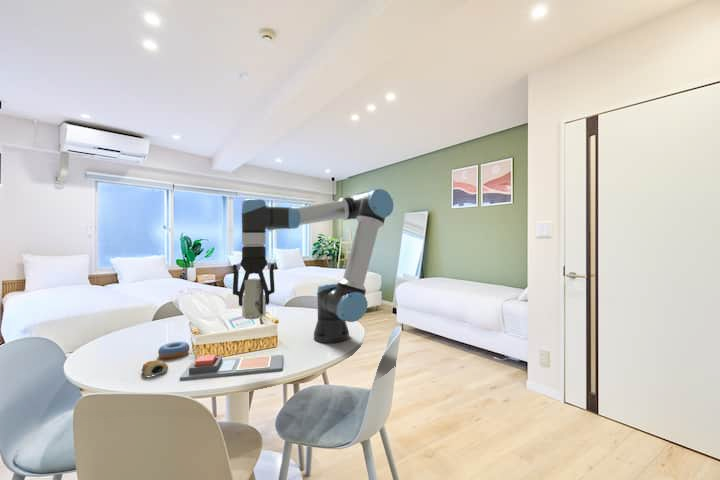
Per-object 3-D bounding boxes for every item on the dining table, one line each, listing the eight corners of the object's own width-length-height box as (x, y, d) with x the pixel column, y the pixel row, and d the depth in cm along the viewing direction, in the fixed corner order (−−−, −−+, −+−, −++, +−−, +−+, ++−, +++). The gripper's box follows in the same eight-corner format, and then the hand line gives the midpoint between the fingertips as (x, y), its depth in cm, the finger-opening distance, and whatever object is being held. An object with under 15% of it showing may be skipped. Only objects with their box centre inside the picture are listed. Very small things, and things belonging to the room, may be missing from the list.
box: (256, 319, 102) (256, 280, 102) (243, 319, 103) (243, 279, 103) (264, 315, 108) (264, 278, 108) (252, 315, 108) (252, 278, 108)
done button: (216, 360, 105) (216, 354, 105) (212, 366, 100) (212, 360, 100) (199, 361, 104) (199, 355, 104) (195, 367, 99) (195, 361, 99)
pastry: (137, 371, 102) (137, 359, 102) (161, 365, 107) (161, 353, 107) (145, 379, 96) (145, 367, 96) (170, 372, 101) (170, 360, 101)
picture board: (282, 356, 113) (282, 349, 113) (282, 370, 102) (282, 362, 102) (191, 364, 107) (191, 357, 107) (179, 380, 95) (179, 371, 95)
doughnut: (167, 349, 121) (167, 338, 121) (194, 350, 122) (194, 338, 121) (152, 362, 111) (152, 349, 111) (181, 362, 112) (181, 350, 112)
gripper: (283, 245, 111) (283, 311, 111) (226, 245, 107) (226, 314, 107) (282, 245, 104) (282, 316, 104) (221, 246, 100) (221, 319, 100)
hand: (254, 314), depth 105 cm, fingers closed on box, 6 cm apart
